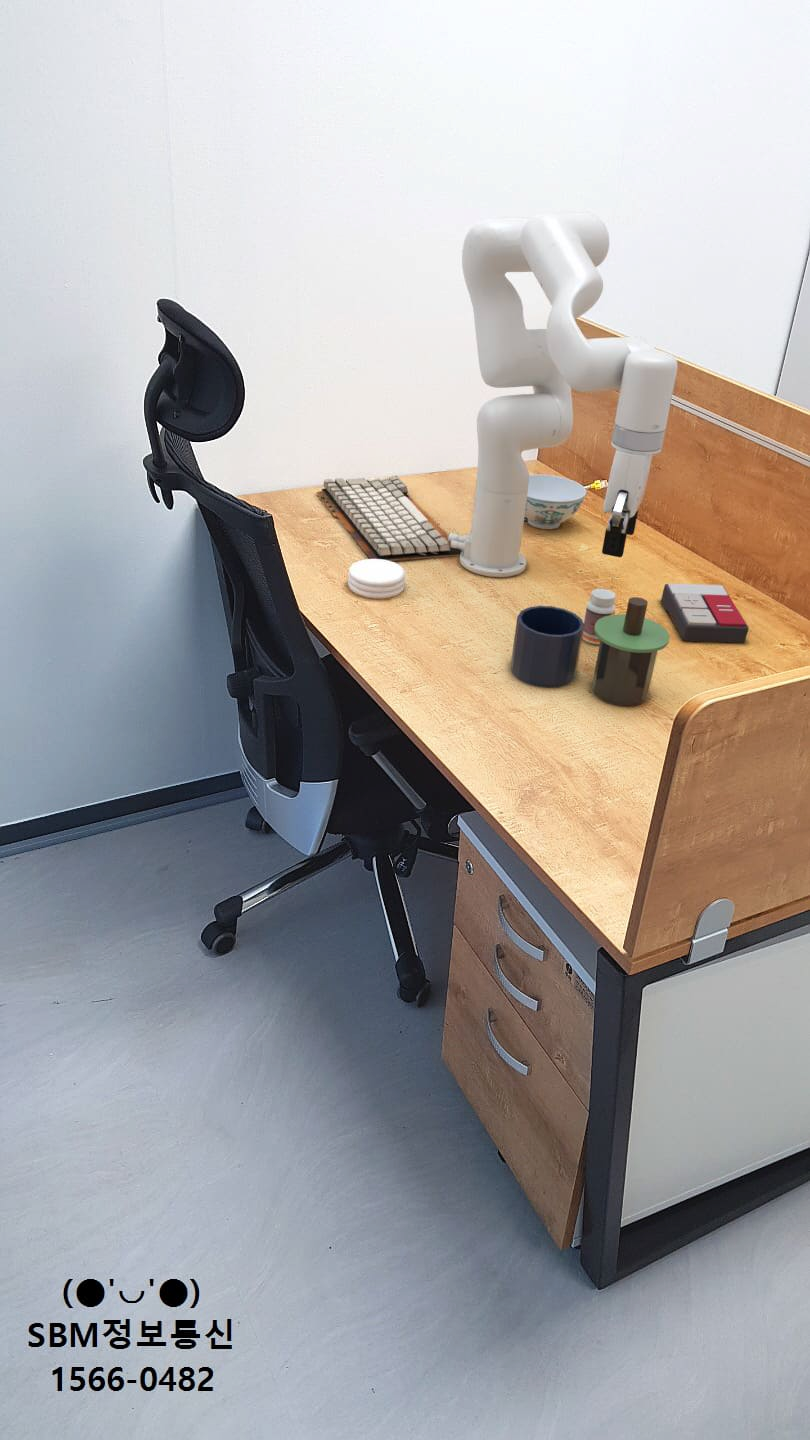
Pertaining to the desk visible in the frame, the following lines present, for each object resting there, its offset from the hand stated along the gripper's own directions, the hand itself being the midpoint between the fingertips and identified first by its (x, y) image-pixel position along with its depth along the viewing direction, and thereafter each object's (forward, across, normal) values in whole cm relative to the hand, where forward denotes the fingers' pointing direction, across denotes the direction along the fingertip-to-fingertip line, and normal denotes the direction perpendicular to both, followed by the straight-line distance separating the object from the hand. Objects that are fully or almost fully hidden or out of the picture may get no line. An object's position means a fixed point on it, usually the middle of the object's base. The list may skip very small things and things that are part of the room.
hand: (617, 543), depth 173 cm
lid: (+8, +14, +6) cm, 17 cm away
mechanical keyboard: (+19, -33, -50) cm, 63 cm away
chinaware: (+18, -48, -21) cm, 56 cm away
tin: (+18, +13, -6) cm, 23 cm away
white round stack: (+19, -3, -41) cm, 45 cm away
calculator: (+18, -18, +15) cm, 30 cm away
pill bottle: (+19, -2, -1) cm, 19 cm away
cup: (+18, +14, +6) cm, 24 cm away
